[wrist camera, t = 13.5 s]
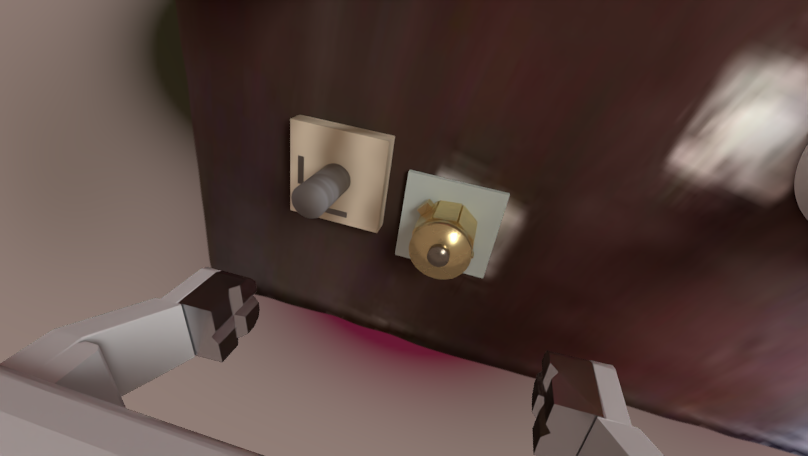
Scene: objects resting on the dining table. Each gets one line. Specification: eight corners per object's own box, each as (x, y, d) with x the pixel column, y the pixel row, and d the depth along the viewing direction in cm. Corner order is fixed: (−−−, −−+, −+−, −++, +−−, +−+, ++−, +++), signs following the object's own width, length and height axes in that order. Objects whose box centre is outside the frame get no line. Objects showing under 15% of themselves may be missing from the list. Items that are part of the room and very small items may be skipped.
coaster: (509, 193, 37) (509, 195, 36) (483, 275, 42) (483, 278, 41) (410, 169, 38) (408, 171, 37) (396, 251, 43) (394, 254, 42)
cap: (447, 184, 37) (437, 210, 32) (492, 240, 39) (489, 272, 33) (404, 214, 40) (388, 242, 35) (447, 265, 41) (438, 299, 36)
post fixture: (395, 136, 37) (367, 161, 30) (382, 224, 42) (357, 263, 35) (300, 114, 38) (253, 133, 31) (299, 202, 43) (258, 236, 36)
